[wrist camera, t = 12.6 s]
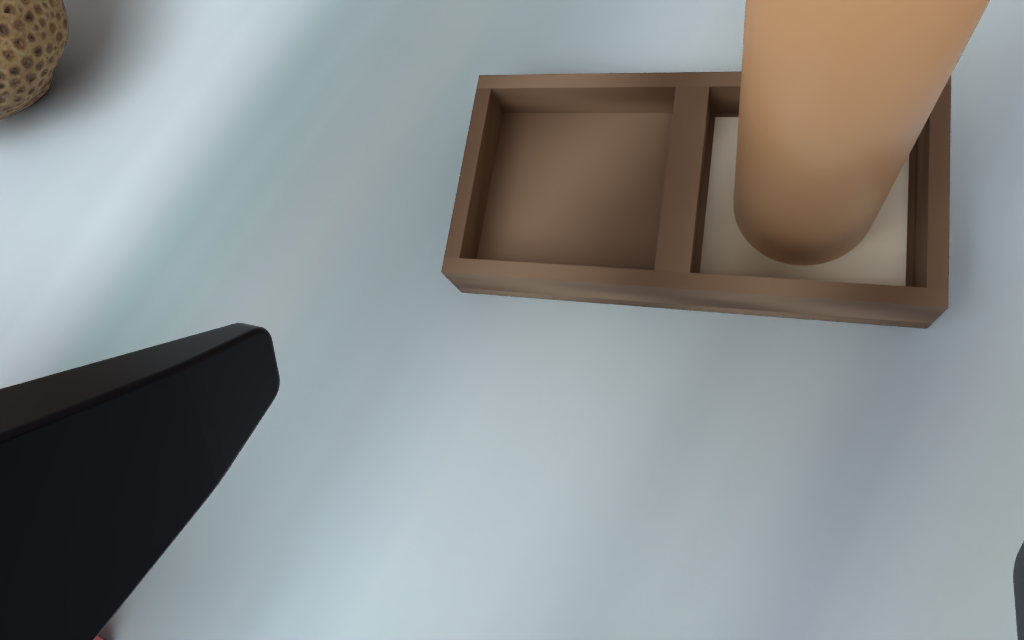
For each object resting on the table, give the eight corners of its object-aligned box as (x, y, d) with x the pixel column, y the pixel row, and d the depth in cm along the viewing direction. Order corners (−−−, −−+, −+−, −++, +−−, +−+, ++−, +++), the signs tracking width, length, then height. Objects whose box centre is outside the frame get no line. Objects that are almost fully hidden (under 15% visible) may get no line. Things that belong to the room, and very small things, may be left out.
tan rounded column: (894, 247, 21) (1349, -456, 6) (751, 279, 22) (836, -270, 7) (854, 126, 22) (1144, -705, 7) (719, 161, 23) (731, -522, 8)
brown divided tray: (931, 107, 22) (950, 68, 20) (927, 328, 21) (948, 307, 19) (495, 107, 26) (479, 75, 24) (462, 292, 25) (441, 272, 23)
